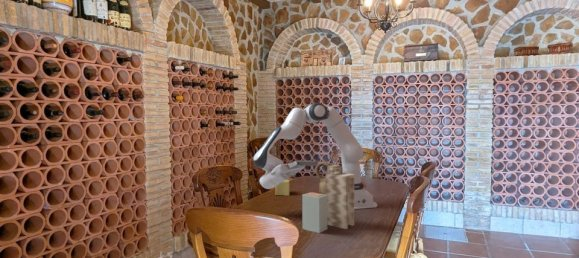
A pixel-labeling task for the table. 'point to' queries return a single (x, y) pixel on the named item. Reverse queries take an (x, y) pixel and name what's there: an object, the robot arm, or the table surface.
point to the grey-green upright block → (314, 212)
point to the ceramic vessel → (322, 180)
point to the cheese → (282, 188)
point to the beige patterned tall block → (339, 197)
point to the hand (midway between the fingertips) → (299, 161)
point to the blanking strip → (307, 163)
